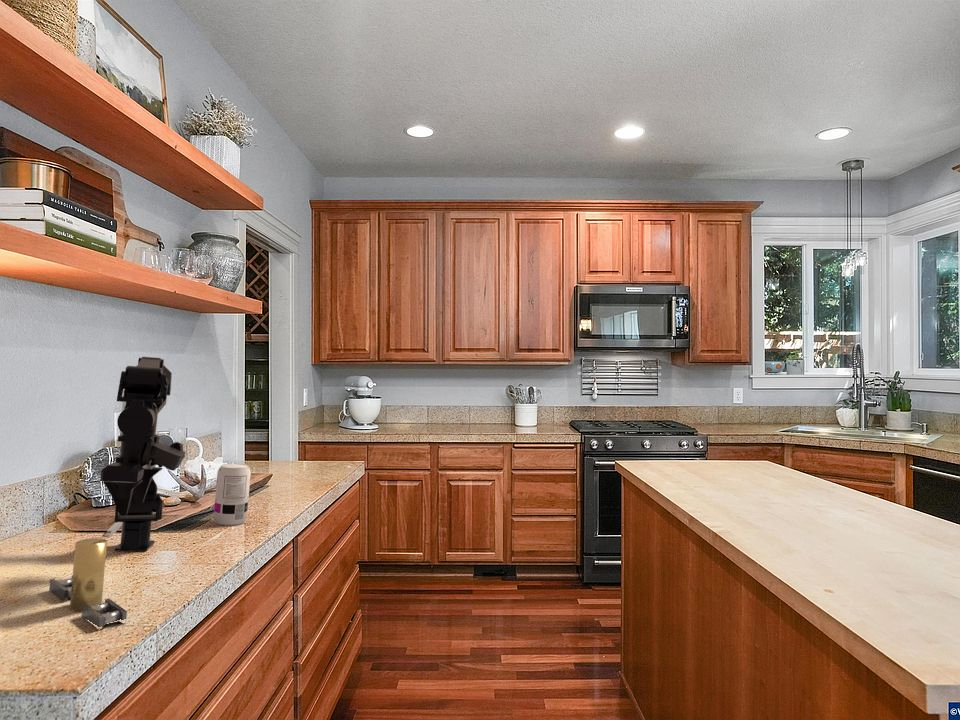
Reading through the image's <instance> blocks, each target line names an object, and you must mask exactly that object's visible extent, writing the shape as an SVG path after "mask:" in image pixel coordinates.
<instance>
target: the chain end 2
mask: <svg viewBox="0 0 960 720" xmlns="http://www.w3.org/2000/svg"><path fill="white" fill-rule="evenodd" d="M127 613H128V611H127V610H126V609H124V608H123V607H122V606H120V605H119V604H117V603H116V602H115V601H113V600H112V599H111V598H105V599H104V602H102V603H101V604H97V605H93V606H89V605H88V604H83V606H82V612H81V617H82V618H83V617H84V618H85V619H87V620H89V621H90V622H92V623H93V624H95V625H97V626H98V627H101V626H103V625H104V624H107V623H110V622H114V621H117V620H120V619H121V620H124V619H126V620H127V616H128V615H127ZM84 618H83V619H84ZM85 619H84V620H85ZM104 626H105V625H104ZM104 626H103V627H104Z"/></svg>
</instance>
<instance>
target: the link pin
mask: <svg viewBox="0 0 960 720" xmlns="http://www.w3.org/2000/svg"><path fill="white" fill-rule="evenodd" d="M107 545H108V540H107V539H106V538H98V537H97V538H96V537H93V538H85V539H81V540H78V541H76V542H75V546H74V554H73V555H74V557H73V566H72V575H73V578H72V589H71V598H70V601H69V610H70V611H72V612H76V613H77V612H81V611H82V606H83V604H88V605H89V606H93V605H97V604H101V603H103V592H104V580H105V569H106V558H107V557H106V556H107V547H108V546H107ZM81 613H82V612H81Z"/></svg>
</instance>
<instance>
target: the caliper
mask: <svg viewBox="0 0 960 720" xmlns="http://www.w3.org/2000/svg"><path fill="white" fill-rule="evenodd" d="M120 528H122V522H116V523H115V522H114V523H112V525H111V526H110V527H108V529H107V531H106V533H105V534H104V536H103V537H105V538H109V537H111V536H113V535H115V533H117V531H118V530H120Z"/></svg>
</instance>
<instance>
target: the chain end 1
mask: <svg viewBox="0 0 960 720" xmlns="http://www.w3.org/2000/svg"><path fill="white" fill-rule="evenodd" d="M72 578H73V574H72V575H71V577H70V578H65V579H59V580H56V579H55V578H51V579H49V590H48V591H49V592H50V593H52V595H54V597H56V598H57V599H59V600H60V601H61V602H63V603H66V602H68V601H69V599H71V589H72Z"/></svg>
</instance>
